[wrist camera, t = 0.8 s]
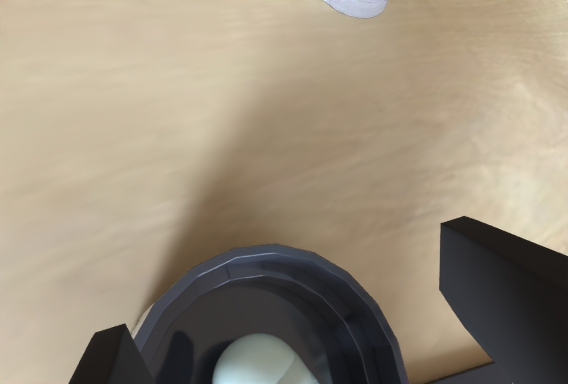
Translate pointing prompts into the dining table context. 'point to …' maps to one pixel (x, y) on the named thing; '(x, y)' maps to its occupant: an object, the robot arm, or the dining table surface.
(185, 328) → the basin
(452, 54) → the dining table surface
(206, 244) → the dining table surface
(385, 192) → the dining table surface
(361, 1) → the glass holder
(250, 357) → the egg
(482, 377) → the mat
